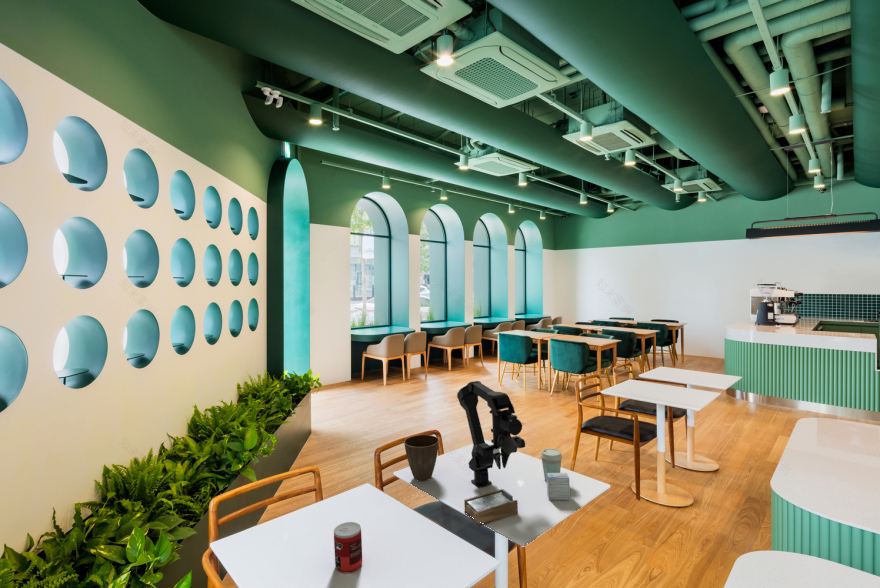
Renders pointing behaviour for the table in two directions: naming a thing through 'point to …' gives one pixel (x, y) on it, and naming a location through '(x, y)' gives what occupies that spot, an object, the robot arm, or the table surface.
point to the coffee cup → (551, 461)
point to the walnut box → (491, 510)
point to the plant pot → (422, 455)
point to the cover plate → (490, 501)
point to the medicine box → (558, 486)
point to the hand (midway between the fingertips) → (501, 468)
